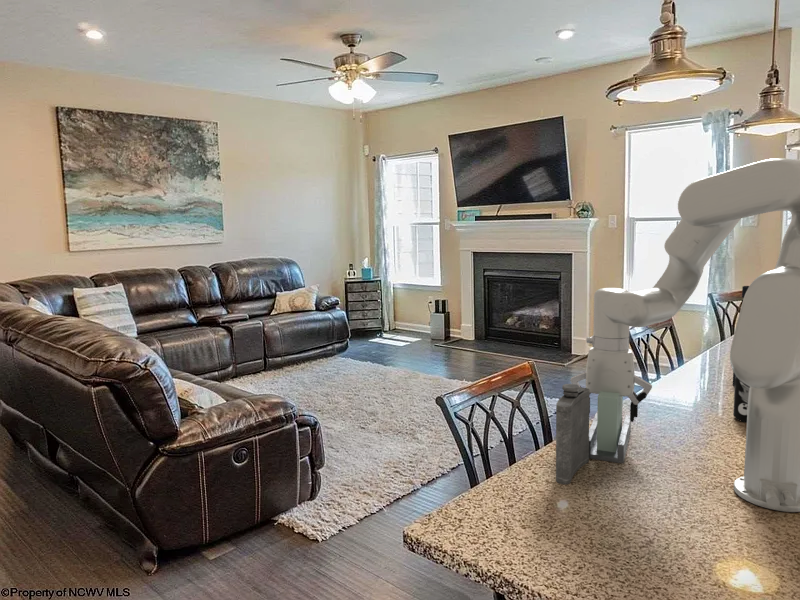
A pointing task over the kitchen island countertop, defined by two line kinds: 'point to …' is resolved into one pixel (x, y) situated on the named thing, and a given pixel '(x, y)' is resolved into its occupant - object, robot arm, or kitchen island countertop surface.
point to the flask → (572, 432)
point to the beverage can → (741, 400)
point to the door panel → (609, 421)
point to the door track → (607, 455)
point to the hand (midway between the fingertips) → (609, 417)
